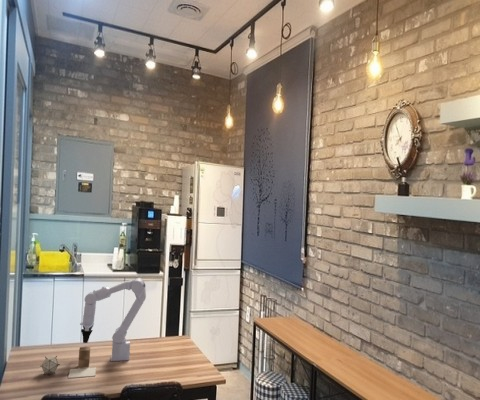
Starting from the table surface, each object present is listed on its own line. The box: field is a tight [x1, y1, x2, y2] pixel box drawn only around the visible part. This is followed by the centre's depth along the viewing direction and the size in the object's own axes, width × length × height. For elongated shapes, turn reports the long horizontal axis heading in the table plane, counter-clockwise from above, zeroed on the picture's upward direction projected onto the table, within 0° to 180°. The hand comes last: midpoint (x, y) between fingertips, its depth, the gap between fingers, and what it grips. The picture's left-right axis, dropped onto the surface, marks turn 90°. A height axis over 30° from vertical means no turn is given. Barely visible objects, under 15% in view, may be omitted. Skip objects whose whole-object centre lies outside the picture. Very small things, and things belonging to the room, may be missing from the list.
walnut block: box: [77, 346, 91, 369], centre depth 201 cm, size 5×5×9 cm
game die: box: [39, 355, 61, 376], centre depth 191 cm, size 9×8×10 cm
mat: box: [67, 367, 97, 379], centre depth 193 cm, size 12×10×1 cm
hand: (85, 340), depth 211 cm, fingers open, 7 cm apart
